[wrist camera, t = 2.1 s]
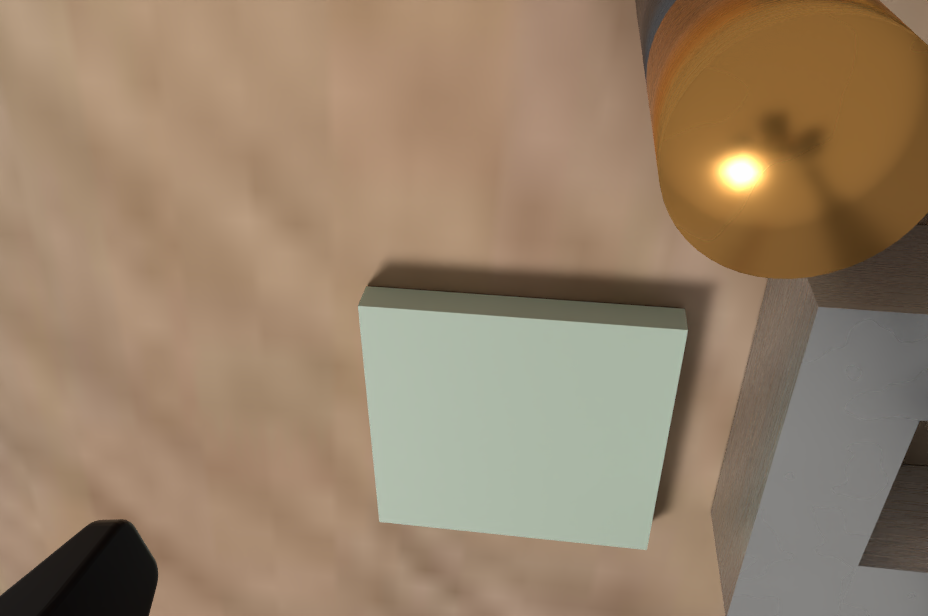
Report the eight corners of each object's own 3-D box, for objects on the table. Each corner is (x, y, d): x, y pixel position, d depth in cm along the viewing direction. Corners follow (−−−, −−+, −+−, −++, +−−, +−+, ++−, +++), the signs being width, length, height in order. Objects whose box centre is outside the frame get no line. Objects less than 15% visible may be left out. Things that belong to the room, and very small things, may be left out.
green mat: (685, 308, 22) (688, 330, 22) (645, 525, 28) (646, 549, 27) (366, 286, 23) (357, 305, 23) (385, 499, 29) (379, 521, 28)
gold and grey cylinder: (826, -106, 16) (1009, 18, 9) (787, 70, 18) (910, 287, 11) (645, -108, 17) (679, 8, 9) (626, 64, 19) (642, 270, 12)
